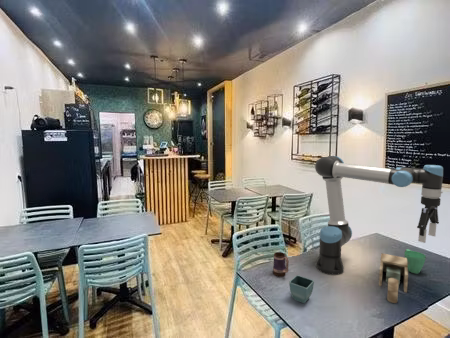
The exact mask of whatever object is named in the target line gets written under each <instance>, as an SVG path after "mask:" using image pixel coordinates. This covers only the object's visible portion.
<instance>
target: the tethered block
mask: <svg viewBox="0 0 450 338" xmlns="http://www.w3.org/2000/svg"><path fill="white" fill-rule="evenodd" d="M385 274H386V275H385V283H387V295H386V296H387V297H386V300H387V301H388V302H389V303H392V304H397V303H398V296H399V286H400V283H401V281H400V280H401V275H400V269H397V268H392V267H388V266H387V271H386V272H385Z"/></svg>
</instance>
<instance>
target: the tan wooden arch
mask: <svg viewBox="0 0 450 338" xmlns="http://www.w3.org/2000/svg"><path fill="white" fill-rule="evenodd" d="M387 266H388V267H392V268H397V269H400V276H403V277H402V280H403V283H402V284H403V292H404V293H406V294H407V293H408V281H409V270H408V264H407V258H405V256H404V257H403V256H399V255H398V256H397V255H393V254H387V253H381V254H380V262H379V270H378V271H379V275H378V286H379V287H382V286H383V285H382V283H383V276H384V275H383V274H384V273H383V272H385V273H386V271H387Z"/></svg>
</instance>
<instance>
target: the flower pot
mask: <svg viewBox="0 0 450 338" xmlns="http://www.w3.org/2000/svg"><path fill="white" fill-rule="evenodd" d="M288 284H289V290H290V291H289V292H290V295H291V297H292V299H294V301H297V302H300V303H301V304H305V303H306V302H307V301H308V300H309V299H310V297H311V295H312V293H313V291H314V286H315V285H314V284H315V280H313V279H310V278H308V277H306V276H305V277H304V276H301V275H299V274H297V275H295V276H293V277H292V279H290V281H289V283H288Z"/></svg>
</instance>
